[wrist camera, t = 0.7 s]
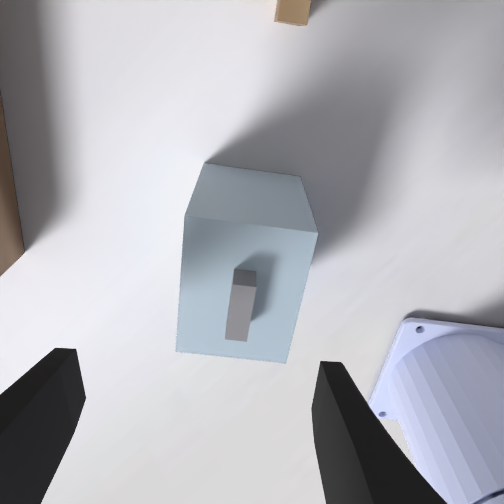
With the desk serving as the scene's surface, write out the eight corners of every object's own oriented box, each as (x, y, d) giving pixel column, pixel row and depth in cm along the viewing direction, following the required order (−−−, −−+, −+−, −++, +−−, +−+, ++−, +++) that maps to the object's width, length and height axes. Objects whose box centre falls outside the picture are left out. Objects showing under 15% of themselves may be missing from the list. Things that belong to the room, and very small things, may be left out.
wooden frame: (344, -233, 12) (380, -338, 9) (255, 280, 21) (255, 329, 18) (-136, -334, 11) (-308, -496, 8) (-16, 247, 21) (-71, 292, 17)
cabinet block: (300, 176, 19) (322, 247, 13) (277, 282, 22) (287, 382, 15) (204, 162, 18) (179, 228, 12) (194, 272, 21) (171, 370, 15)
